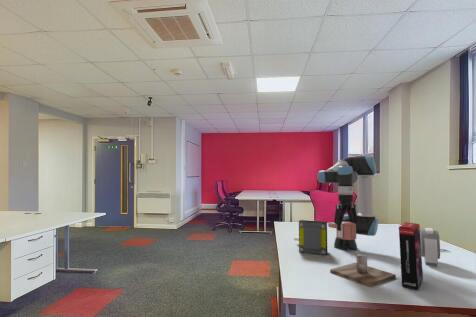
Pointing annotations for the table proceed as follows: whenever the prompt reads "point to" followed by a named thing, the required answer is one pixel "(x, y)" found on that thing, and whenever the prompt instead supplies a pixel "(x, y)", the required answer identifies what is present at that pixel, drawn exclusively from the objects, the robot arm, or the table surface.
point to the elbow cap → (346, 230)
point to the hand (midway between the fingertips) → (346, 235)
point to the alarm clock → (430, 246)
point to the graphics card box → (410, 255)
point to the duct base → (361, 277)
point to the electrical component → (313, 237)
